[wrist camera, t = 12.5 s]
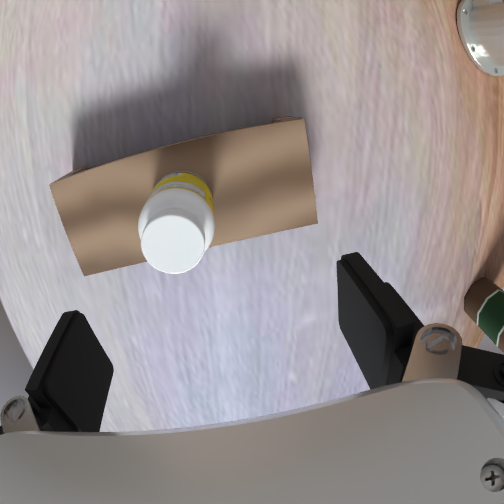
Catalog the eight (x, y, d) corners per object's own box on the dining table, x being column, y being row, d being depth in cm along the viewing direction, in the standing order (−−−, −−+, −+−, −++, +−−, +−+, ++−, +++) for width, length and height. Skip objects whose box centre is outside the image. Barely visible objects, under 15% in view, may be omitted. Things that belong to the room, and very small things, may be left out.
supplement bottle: (199, 236, 29) (197, 295, 21) (144, 215, 28) (118, 267, 19) (222, 182, 28) (230, 222, 19) (165, 160, 26) (143, 189, 17)
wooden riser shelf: (72, 170, 30) (49, 184, 25) (288, 116, 31) (304, 119, 26) (99, 250, 35) (84, 276, 30) (301, 204, 36) (317, 223, 30)
